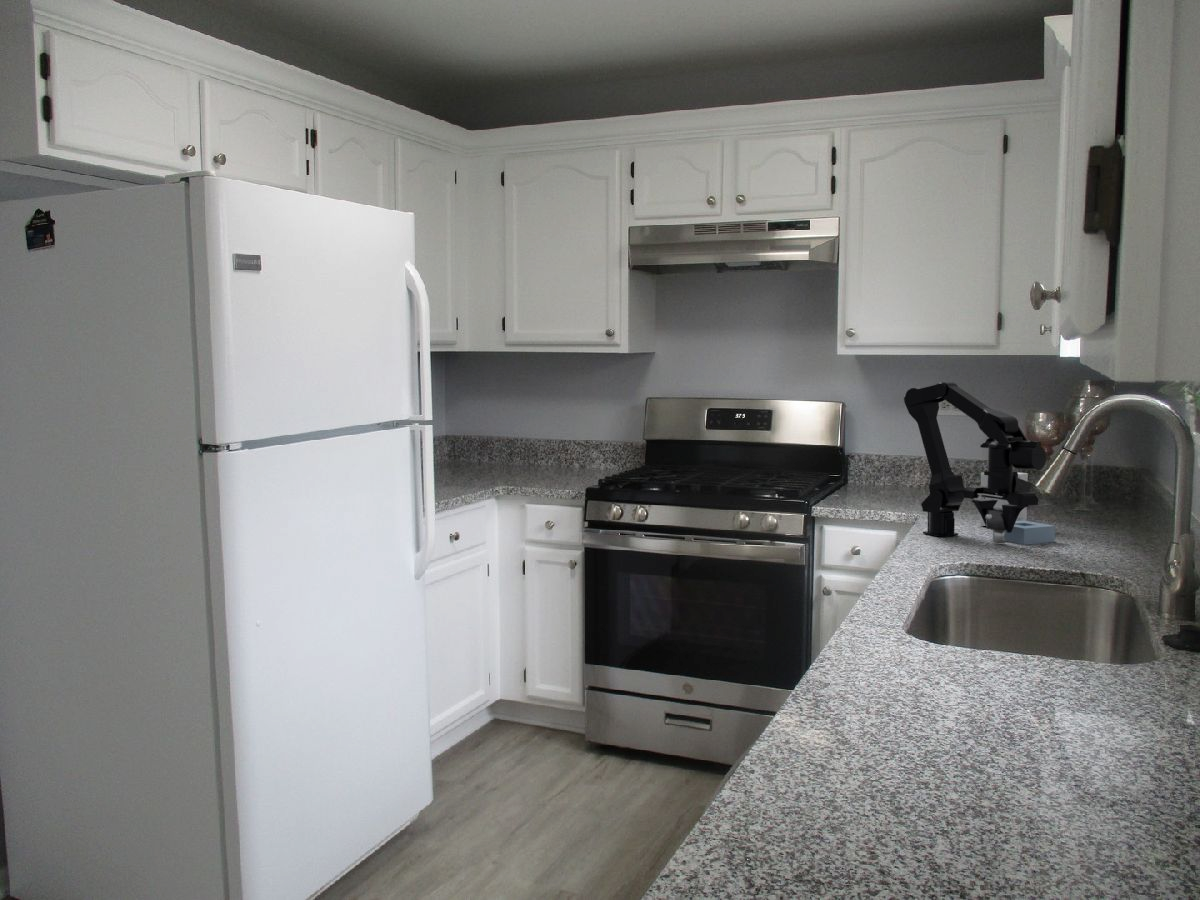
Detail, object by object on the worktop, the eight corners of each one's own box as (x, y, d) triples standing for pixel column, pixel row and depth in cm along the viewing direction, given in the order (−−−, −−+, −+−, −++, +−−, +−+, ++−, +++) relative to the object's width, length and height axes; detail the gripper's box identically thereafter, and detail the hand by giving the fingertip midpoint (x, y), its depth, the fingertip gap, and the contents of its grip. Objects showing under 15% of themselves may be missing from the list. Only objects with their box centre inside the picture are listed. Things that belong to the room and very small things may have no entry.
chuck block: (993, 538, 241) (993, 522, 241) (1023, 535, 245) (1023, 520, 244) (1023, 544, 232) (1024, 528, 231) (1054, 541, 235) (1055, 525, 235)
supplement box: (1009, 530, 254) (1010, 474, 253) (978, 526, 261) (979, 472, 260) (1027, 527, 259) (1029, 472, 258) (997, 523, 267) (998, 470, 265)
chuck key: (995, 545, 228) (996, 512, 228) (977, 541, 234) (977, 509, 233) (1020, 542, 231) (1021, 510, 231) (1002, 539, 237) (1002, 507, 236)
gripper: (1056, 468, 226) (1054, 534, 227) (997, 463, 243) (996, 523, 244) (1020, 470, 222) (1019, 537, 223) (962, 464, 239) (961, 526, 240)
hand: (999, 530), depth 232 cm, fingers closed on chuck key, 6 cm apart
